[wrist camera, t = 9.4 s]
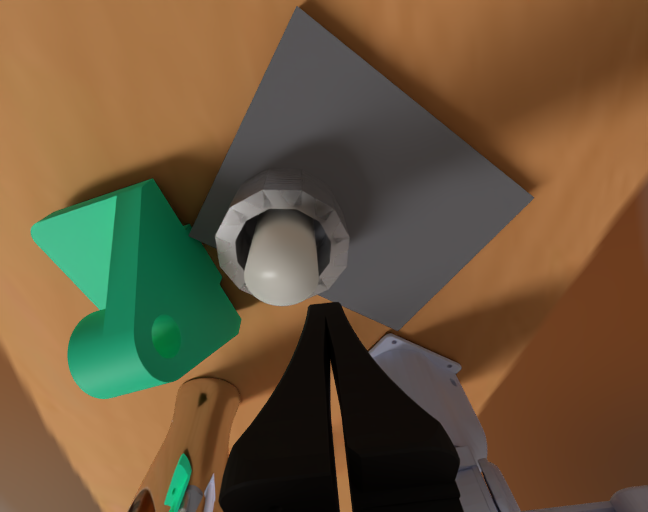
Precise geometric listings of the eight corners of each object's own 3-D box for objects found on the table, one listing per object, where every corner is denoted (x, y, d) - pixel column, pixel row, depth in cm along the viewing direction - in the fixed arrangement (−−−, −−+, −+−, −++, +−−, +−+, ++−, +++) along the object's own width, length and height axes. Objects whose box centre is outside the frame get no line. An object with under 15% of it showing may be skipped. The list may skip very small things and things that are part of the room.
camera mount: (52, 209, 20) (-141, 325, 11) (160, 172, 19) (43, 267, 10) (159, 333, 26) (90, 469, 17) (243, 309, 25) (214, 439, 17)
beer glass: (232, 368, 29) (180, 609, 16) (254, 409, 33) (225, 631, 20) (160, 380, 29) (53, 627, 16) (190, 420, 33) (121, 646, 20)
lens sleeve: (362, 206, 20) (374, 232, 17) (305, 284, 23) (305, 317, 20) (261, 144, 17) (253, 162, 14) (211, 240, 20) (196, 271, 17)
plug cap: (324, 214, 20) (332, 266, 15) (296, 254, 21) (295, 315, 16) (274, 186, 19) (265, 233, 14) (248, 231, 20) (231, 289, 15)
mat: (525, 192, 21) (534, 197, 20) (394, 322, 27) (397, 331, 26) (296, 8, 15) (296, 5, 14) (192, 228, 21) (188, 235, 20)
